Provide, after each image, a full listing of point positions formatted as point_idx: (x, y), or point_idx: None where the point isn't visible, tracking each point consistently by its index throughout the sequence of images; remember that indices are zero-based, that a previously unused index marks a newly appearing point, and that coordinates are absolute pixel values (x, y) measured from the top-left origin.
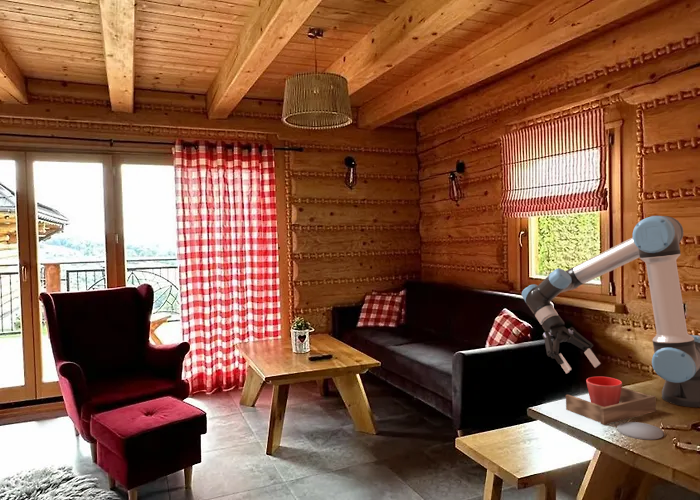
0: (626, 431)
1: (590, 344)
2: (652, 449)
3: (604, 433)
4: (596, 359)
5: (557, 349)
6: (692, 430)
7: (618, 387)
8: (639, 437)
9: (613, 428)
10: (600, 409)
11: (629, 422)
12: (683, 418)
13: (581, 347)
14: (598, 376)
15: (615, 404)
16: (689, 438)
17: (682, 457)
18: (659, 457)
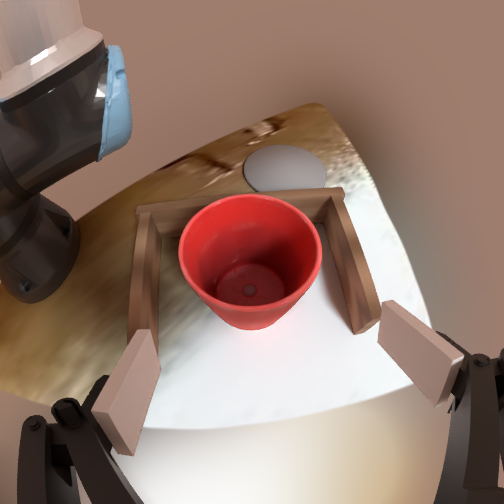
0: (317, 170)
1: (41, 430)
2: (317, 134)
3: (356, 188)
4: (136, 346)
5: (482, 383)
6: (194, 152)
7: (238, 201)
8: (311, 153)
9: None
10: (344, 196)
11: None
12: (147, 188)
13: (125, 480)
14: (218, 302)
15: (289, 196)
16: (231, 137)
17: (297, 115)
18: (325, 123)
